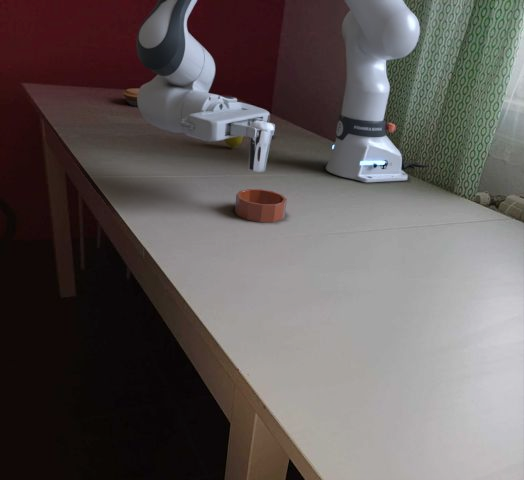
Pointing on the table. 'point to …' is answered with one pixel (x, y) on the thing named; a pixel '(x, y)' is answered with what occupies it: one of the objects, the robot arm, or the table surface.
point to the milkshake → (260, 146)
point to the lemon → (234, 141)
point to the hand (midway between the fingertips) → (265, 131)
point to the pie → (131, 96)
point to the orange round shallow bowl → (260, 205)
